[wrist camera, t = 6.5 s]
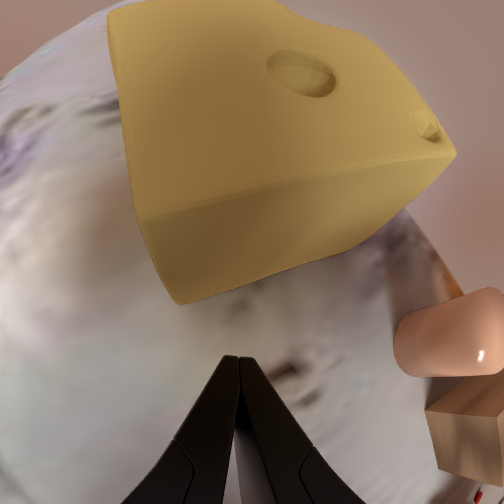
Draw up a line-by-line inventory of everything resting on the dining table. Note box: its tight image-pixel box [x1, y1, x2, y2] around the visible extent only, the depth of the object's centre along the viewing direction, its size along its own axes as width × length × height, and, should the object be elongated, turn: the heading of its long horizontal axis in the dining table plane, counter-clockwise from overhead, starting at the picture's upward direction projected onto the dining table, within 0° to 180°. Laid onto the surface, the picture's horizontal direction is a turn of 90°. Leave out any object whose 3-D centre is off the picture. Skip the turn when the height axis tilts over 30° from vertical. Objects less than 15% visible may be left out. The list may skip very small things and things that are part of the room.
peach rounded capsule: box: [393, 287, 504, 377], centre depth 13 cm, size 4×4×6 cm
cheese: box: [107, 0, 457, 305], centre depth 12 cm, size 10×11×10 cm
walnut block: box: [424, 368, 504, 487], centre depth 12 cm, size 5×5×6 cm
